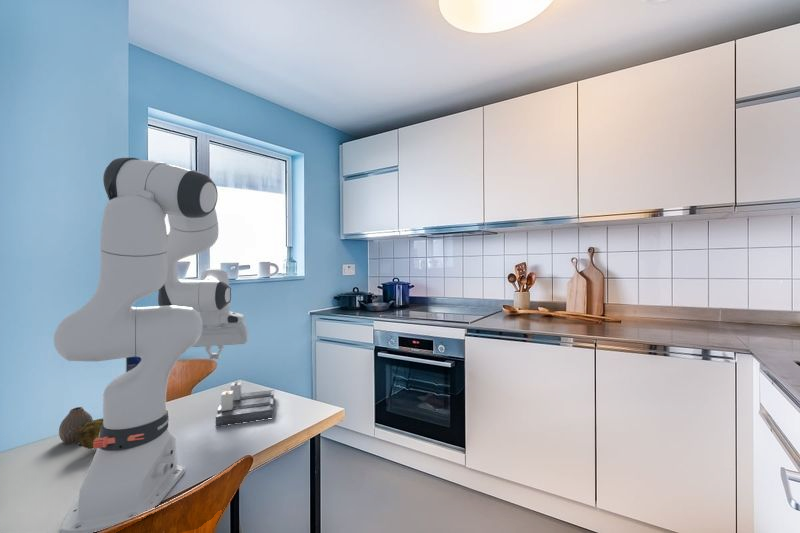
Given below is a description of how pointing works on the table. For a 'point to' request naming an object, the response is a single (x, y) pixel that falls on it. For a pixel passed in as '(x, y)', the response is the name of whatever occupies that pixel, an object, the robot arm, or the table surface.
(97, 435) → the potato
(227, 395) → the fader
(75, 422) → the vase
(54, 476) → the table surface
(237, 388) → the fader
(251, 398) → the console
